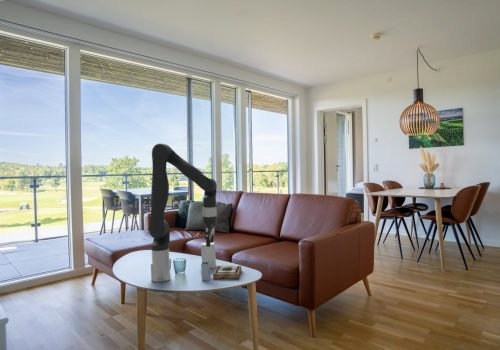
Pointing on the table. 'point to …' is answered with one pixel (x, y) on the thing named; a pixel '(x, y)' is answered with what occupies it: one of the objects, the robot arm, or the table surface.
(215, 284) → the table surface
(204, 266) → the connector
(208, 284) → the table surface
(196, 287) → the table surface
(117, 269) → the table surface
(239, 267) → the walnut box
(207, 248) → the skincare box
